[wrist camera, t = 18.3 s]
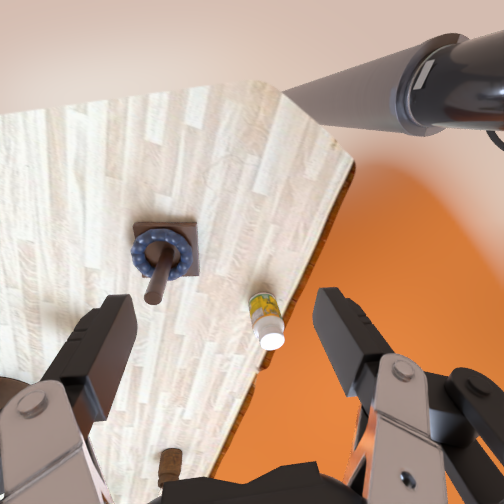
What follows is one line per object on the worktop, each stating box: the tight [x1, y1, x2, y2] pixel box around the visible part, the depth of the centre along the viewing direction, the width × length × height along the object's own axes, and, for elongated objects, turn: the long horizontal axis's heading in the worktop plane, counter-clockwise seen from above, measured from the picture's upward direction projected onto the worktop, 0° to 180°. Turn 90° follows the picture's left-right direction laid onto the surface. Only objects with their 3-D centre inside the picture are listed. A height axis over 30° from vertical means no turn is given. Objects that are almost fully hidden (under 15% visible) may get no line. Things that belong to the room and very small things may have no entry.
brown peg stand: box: [133, 222, 200, 305], centre depth 34 cm, size 9×9×12 cm
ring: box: [131, 229, 193, 281], centre depth 38 cm, size 9×9×2 cm
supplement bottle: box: [249, 292, 284, 350], centre depth 44 cm, size 5×5×10 cm
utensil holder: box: [157, 449, 182, 497], centre depth 65 cm, size 6×6×12 cm
